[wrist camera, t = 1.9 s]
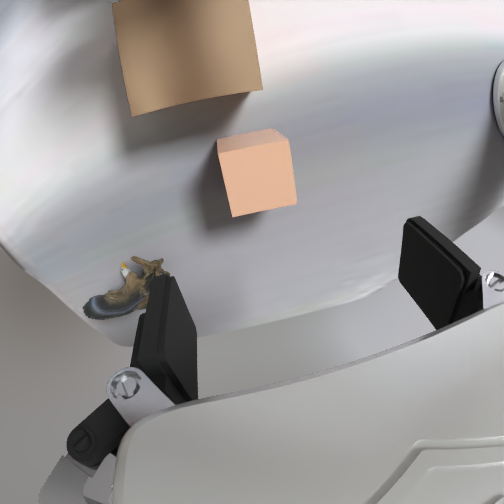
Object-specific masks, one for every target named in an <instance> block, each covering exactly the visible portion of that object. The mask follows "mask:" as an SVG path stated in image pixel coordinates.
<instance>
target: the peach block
mask: <svg viewBox="0 0 504 504" xmlns="http://www.w3.org/2000/svg"><path fill="white" fill-rule="evenodd" d="M217 149H218V156H219V161H220V165H221V169H222V174H223V178H224V183H225V187H226V191H227V196H228V200H229V204H230V209H231V213H232V217H236V216H241V215H246V214H250V213H255V212H259V211H264V210H269V209H274V208H278V207H283V206H288V205H293V204H297V197H296V189H295V182H294V174H293V167H292V159H291V152H290V146H289V140H288V139H287V138H285V137H284V136H283V135H281V134H280V133H279V132H277V131H276V130H274V129H273V128H270V129H265V130H259V131H254V132H249V133H244V134H239V135H234V136H229V137H224V138H220V139H217Z"/></svg>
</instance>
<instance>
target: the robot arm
mask: <svg viewBox="0 0 504 504" xmlns="http://www.w3.org/2000/svg"><path fill="white" fill-rule="evenodd" d="M493 103H494V111H495V116H496V120H497V123H498V126H499V129H500V131H501V133H502V134H503V136H504V61H503V62H502V63H501V64H500V66H499V68H498V70H497V72H496V75H495V80H494V87H493ZM480 269H481V268H480V267H479V266H478V265H477V264H476V263H475V262H474V261H473V260H472V259H470V258H469V257H468V256H467V255H466V254H465V253H464V252H462V251H461V250H460V249H459V248H458V247H457V246H456V245H455V244H453V242H451V241H450V240H449V239H448V238H447V237H446V236H444V235H443V234H442V233H441V232H440V231H438V230H437V229H436V228H435V227H433V226H432V225H431V224H430V223H429V222H427V221H426V220H425V219H424V218H422V217H421V216H417V217H413V218H409V219H407V221H406V223H405V224H404V227H403V239H402V248H401V257H400V265H399V273H398V278H399V281H400V283H401V284H402V285H403V287H404V288H405V289H406V290H407V292H408V293H409V294H410V296H411V297H412V298H413V299H414V301H415V302H416V303H417V305H418V306H419V307H420V309H421V310H422V311H423V313H424V314H425V315H426V317H427V318H428V319H429V320H430V322H431V323H432V325H433V326H434V327H435V329H436V331H434V332H431V333H429V334H427V335H424V336H422V337H419V338H417V339H414V340H412V341H409V342H407V343H404V344H401V345H399V346H396V347H393V348H391V349H388V350H385V351H382V352H380V353H377V354H374V355H371V356H368V357H365V358H362V359H359V360H356V361H353V362H350V363H347V364H344V365H340V366H337V367H334V368H330V369H327V370H324V371H320V372H316V373H313V374H310V375H306V376H302V377H298V378H295V379H290V380H286V381H282V382H279V383H274V384H270V385H265V386H260V387H256V388H252V389H247V390H242V391H237V392H232V393H228V394H222V395H217V396H212V397H207V398H203V399H198V382H197V332H196V327H195V325H194V322H193V320H192V318H191V315H190V313H189V311H188V308H187V306H186V304H185V301H184V299H183V297H182V294H181V292H180V289H179V287H178V284H177V282H176V279H175V277H174V276H172V277H170V276H169V275H168V274H163V275H159V276H154V277H153V279H152V284H151V288H150V293H149V298H148V303H147V308H146V313H143V314H141V315H140V317H139V321H138V326H137V331H136V336H135V342H134V347H133V353H132V358H131V364H130V367H126V368H123V369H121V370H119V371H117V372H116V373H115V374H114V375H113V376H112V377H111V378H110V380H109V381H108V383H107V387H106V392H107V395H108V399H107V400H106V401H105V402H104V403H103V404H101V405H100V406H99V407H98V408H97V409H96V410H95V411H94V412H93V413H91V414H90V415H89V416H88V417H87V418H86V419H85V420H83V421H82V422H81V423H80V424H79V425H78V426H77V427H76V428H75V429H73V430H72V432H71V433H70V434H69V437H68V439H67V451H68V454H67V455H66V457H65V456H61V458H60V460H59V461H58V463H57V464H56V466H55V467H54V469H53V471H52V472H51V474H50V475H49V477H48V479H47V480H46V482H45V483H44V485H43V487H42V488H41V490H40V493H39V503H40V504H108V499H109V496H110V494H111V492H112V504H504V274H503V273H500V272H498V271H493V270H492V271H487V272H485V273H484V274H483V275H482V276H481V275H480V274H479V273H480ZM112 484H113V488H112V487H111V486H112ZM112 490H113V491H112Z"/></svg>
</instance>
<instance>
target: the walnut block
mask: <svg viewBox="0 0 504 504" xmlns="http://www.w3.org/2000/svg"><path fill="white" fill-rule="evenodd" d="M112 9H113V17H114V24H115V31H116V37H117V43H118V49H119V55H120V61H121V66H122V72H123V77H124V82H125V87H126V92H127V97H128V101H129V106H130V111H131V115H132V117H134V116H137V115H141V114H144V113H148V112H152V111H155V110H159V109H163V108H167V107H171V106H175V105H180V104H184V103H188V102H193V101H198V100H203V99H208V98H213V97H218V96H224V95H230V94H236V93H243V92H250V91H257V90H263V87H262V81H261V74H260V68H259V61H258V55H257V49H256V43H255V36H254V31H253V25H252V19H251V13H250V7H249V2H248V0H122V1H119V2H116V3H113V4H112Z"/></svg>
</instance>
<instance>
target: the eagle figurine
mask: <svg viewBox="0 0 504 504" xmlns="http://www.w3.org/2000/svg"><path fill="white" fill-rule="evenodd" d="M131 260H133V261H134V262H136V263H138V264H141V265H142V266H143V269H144V273H143V277H141V276H139V275H138V274H136V273H134V272H132V271H131V270H129V269H128V268H127V267H126V266H125V265H124V263H122V268H121V272H122V274H123V276H124V277H125V279H126V284H125V285H124V286H123V287H122V288H121V289H120V290H118V291H112V290H111V291H108V293H106V294H105V295H98V296H94V297H92V298H90V299H89V301H88V302H87V303H86V304H85V306H84V307H83V309H84V313H85V315H86V316H88V318H92V319H98V320H101V319H102V320H104V319H109V318H114V317H119V316H123V315H126V314H129V313H131V312H133V311H134V310H135V309H144V308H147V303H148V298H149V293H150V288H151V284H152V279H153V277H154V276H159V275H160V273H162V274H168V275H169V276H170V273H169V272H166V271H164V270H163V269H162V268H161V264H162V263H163V259H160V260H154V261H152V262H148V261H146V260H143V259H141V258H138V257H136V256H134V257H131Z"/></svg>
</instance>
